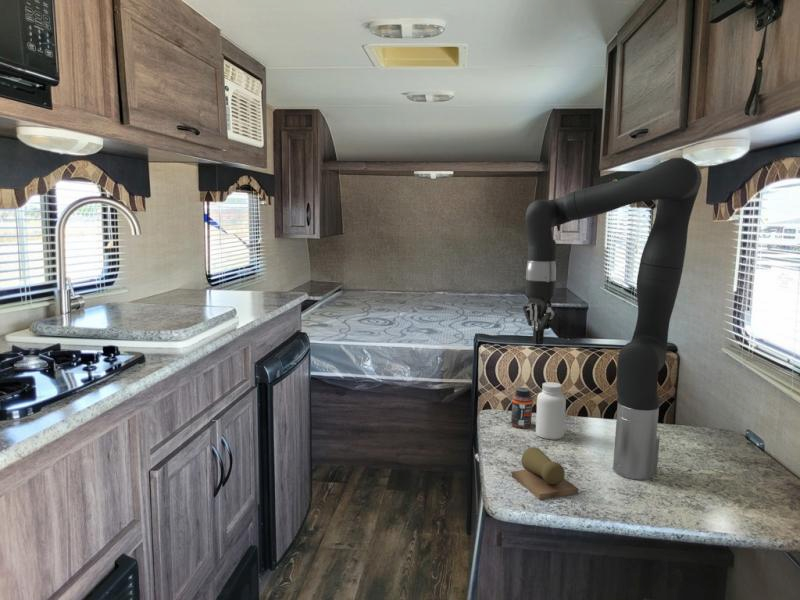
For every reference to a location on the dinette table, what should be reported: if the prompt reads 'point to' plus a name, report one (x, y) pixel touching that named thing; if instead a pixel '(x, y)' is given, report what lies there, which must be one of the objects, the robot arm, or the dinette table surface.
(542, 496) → the walnut board
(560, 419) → the pill bottle
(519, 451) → the dinette table surface
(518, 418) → the supplement bottle
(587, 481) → the dinette table surface
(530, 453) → the cork
